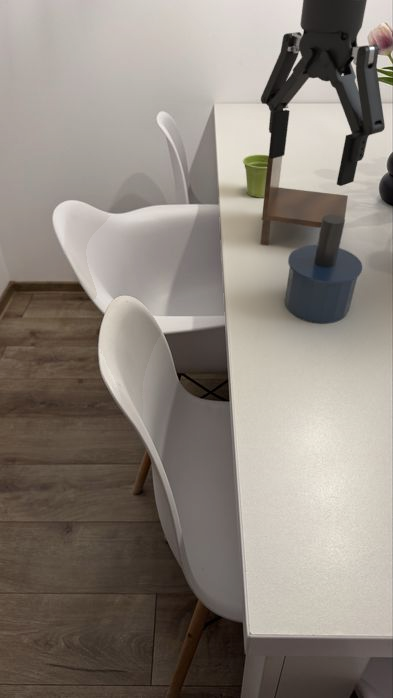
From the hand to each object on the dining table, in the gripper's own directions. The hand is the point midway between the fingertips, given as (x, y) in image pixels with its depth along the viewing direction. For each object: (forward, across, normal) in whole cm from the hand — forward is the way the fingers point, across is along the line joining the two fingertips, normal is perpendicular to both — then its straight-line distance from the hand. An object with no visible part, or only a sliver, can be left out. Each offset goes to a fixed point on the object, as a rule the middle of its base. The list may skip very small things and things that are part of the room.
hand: (308, 169), depth 72 cm
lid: (+17, +2, +6) cm, 18 cm away
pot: (+26, +2, +6) cm, 26 cm away
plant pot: (+26, -43, +32) cm, 59 cm away
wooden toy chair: (+26, -20, +25) cm, 41 cm away
